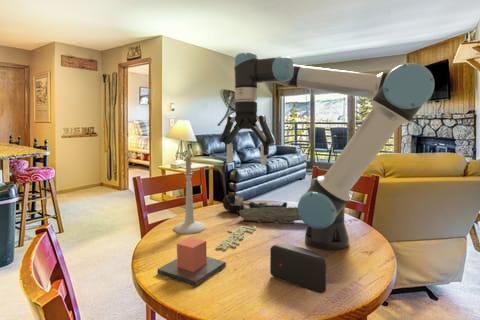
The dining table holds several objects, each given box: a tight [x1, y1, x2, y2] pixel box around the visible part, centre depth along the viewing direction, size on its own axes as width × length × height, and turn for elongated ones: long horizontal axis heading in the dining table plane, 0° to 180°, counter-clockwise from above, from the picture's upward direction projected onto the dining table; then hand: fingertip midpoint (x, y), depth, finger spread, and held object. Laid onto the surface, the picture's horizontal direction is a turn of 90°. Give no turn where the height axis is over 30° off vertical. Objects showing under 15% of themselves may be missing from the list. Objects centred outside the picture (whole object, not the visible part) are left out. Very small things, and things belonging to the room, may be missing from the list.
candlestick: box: [173, 155, 207, 235], centre depth 129 cm, size 13×13×30 cm
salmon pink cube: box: [176, 236, 208, 272], centre depth 93 cm, size 6×6×7 cm
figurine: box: [222, 193, 288, 213], centre depth 151 cm, size 20×9×30 cm
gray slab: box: [157, 256, 227, 288], centre depth 93 cm, size 14×14×6 cm
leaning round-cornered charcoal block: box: [269, 244, 328, 294], centre depth 86 cm, size 16×5×9 cm, turn 52°
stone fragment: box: [238, 206, 302, 224], centre depth 137 cm, size 31×9×5 cm
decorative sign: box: [215, 225, 257, 252], centre depth 120 cm, size 26×1×10 cm
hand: (246, 163), depth 111 cm, fingers open, 13 cm apart
